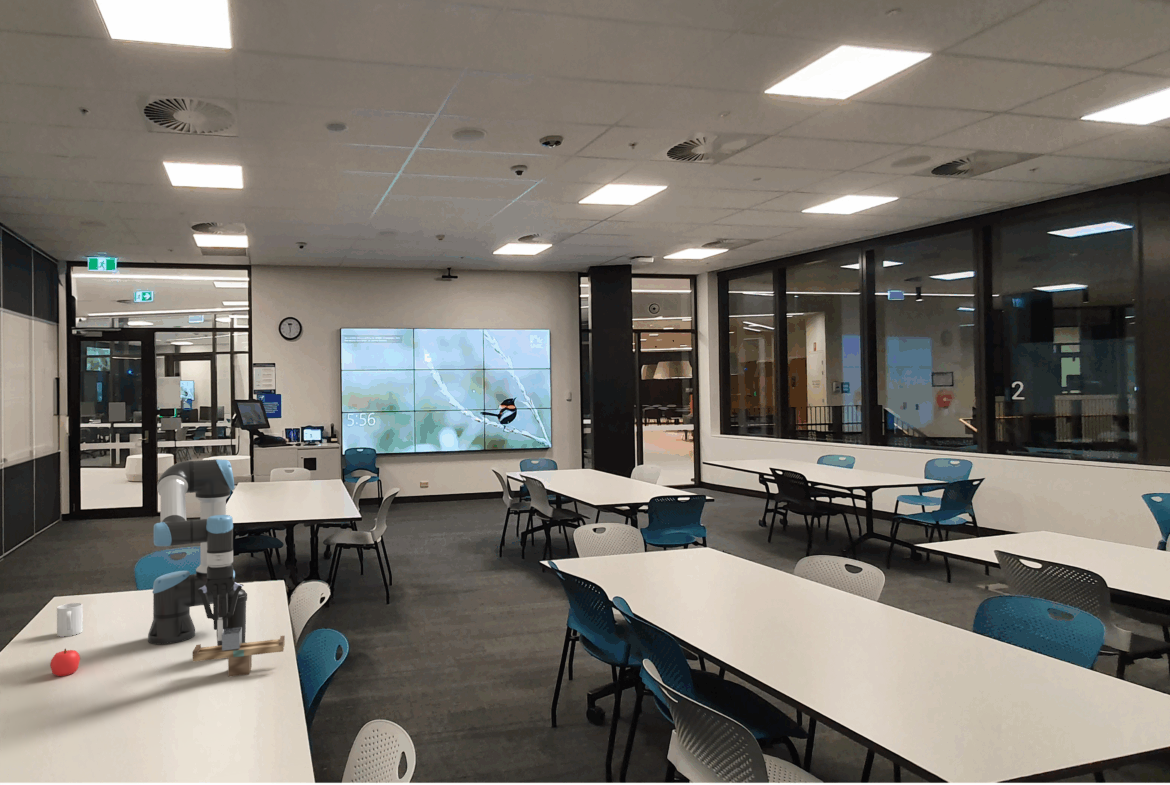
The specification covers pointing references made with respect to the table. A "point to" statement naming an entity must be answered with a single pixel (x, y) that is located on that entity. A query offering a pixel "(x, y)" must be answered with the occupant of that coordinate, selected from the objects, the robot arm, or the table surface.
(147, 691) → the table surface
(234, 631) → the block
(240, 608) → the water bottle
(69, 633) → the mug
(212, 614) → the robot arm
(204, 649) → the beam
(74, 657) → the apple
